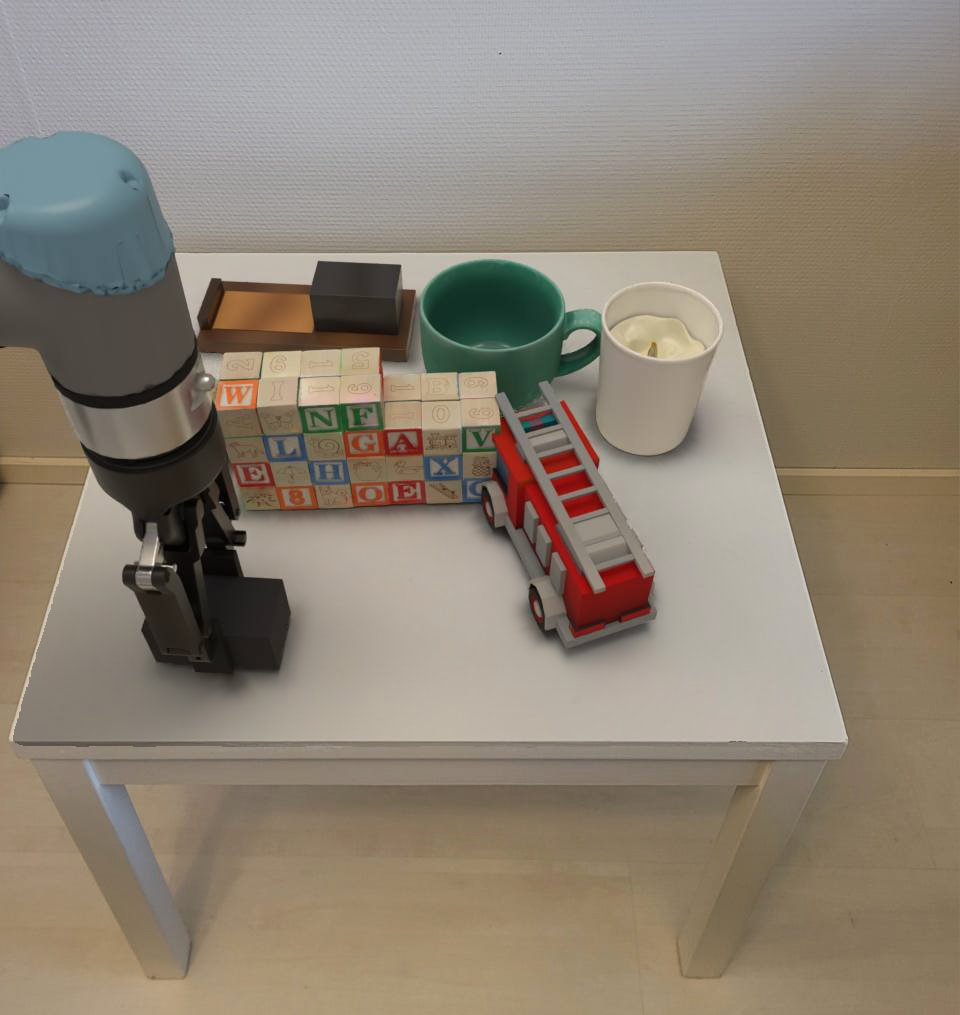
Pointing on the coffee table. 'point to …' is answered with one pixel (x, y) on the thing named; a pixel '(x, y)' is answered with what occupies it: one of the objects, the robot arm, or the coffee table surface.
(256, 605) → the black block
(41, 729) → the coffee table surface
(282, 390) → the stack of blocks
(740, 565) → the coffee table surface
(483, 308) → the mug
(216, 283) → the brown wooden tray
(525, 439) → the toy fire truck
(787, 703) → the coffee table surface
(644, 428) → the candle holder
